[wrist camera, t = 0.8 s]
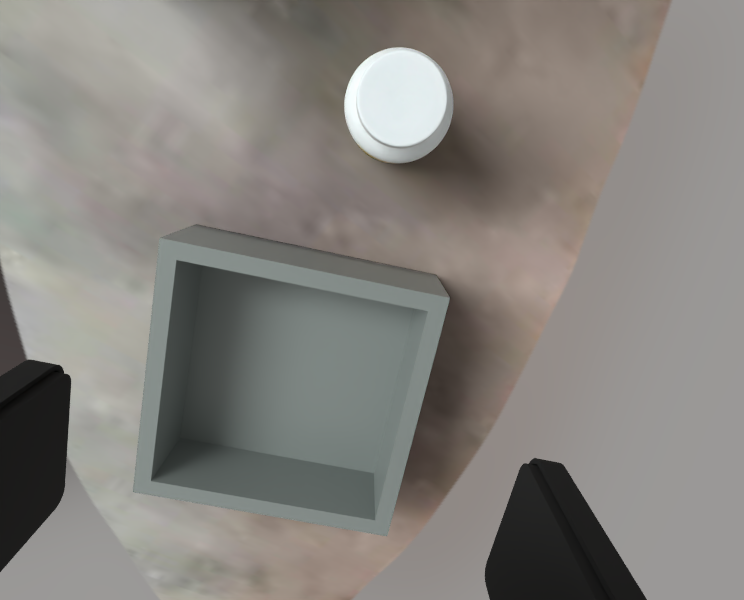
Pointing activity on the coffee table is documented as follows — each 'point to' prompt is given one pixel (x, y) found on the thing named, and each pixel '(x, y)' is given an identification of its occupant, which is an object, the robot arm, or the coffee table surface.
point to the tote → (284, 378)
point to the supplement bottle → (398, 105)
